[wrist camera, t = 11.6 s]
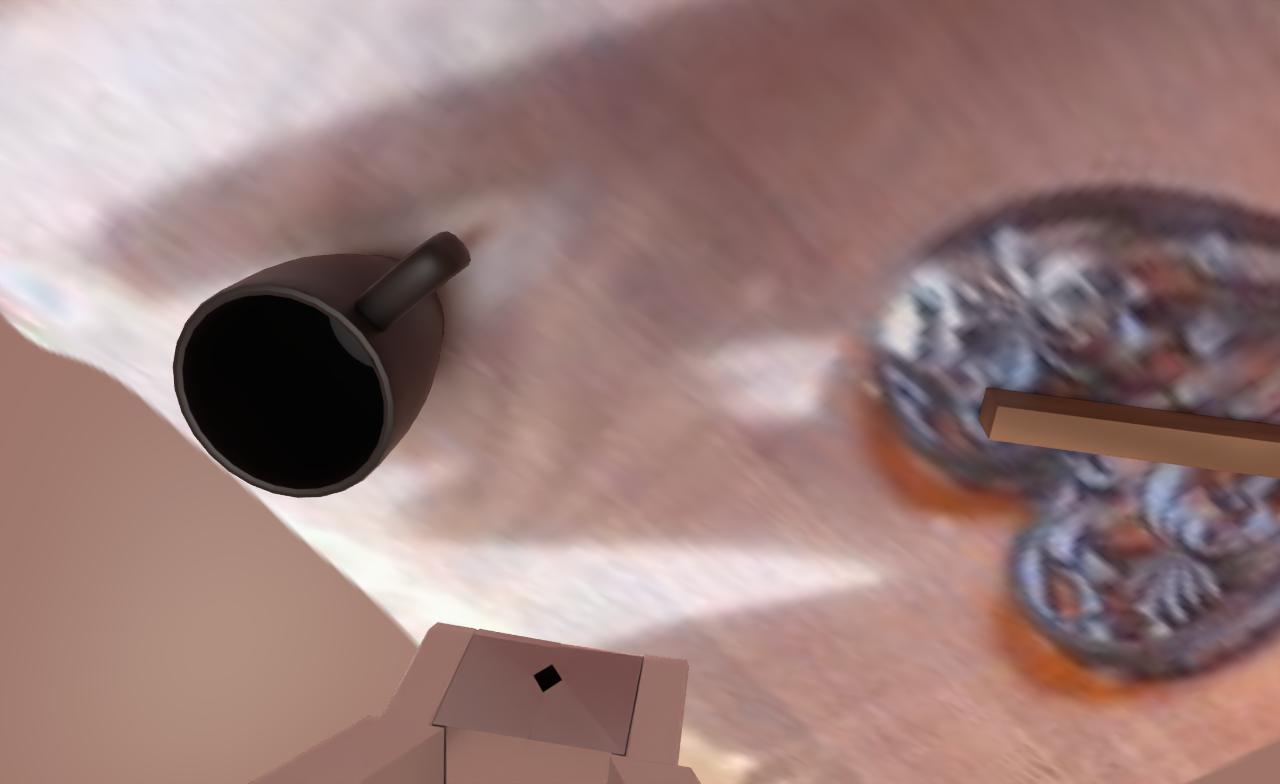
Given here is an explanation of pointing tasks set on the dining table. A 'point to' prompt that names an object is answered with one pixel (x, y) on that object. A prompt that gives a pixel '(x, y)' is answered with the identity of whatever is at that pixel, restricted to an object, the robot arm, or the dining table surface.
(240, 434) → the mug
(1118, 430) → the guide channel
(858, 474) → the dining table surface
